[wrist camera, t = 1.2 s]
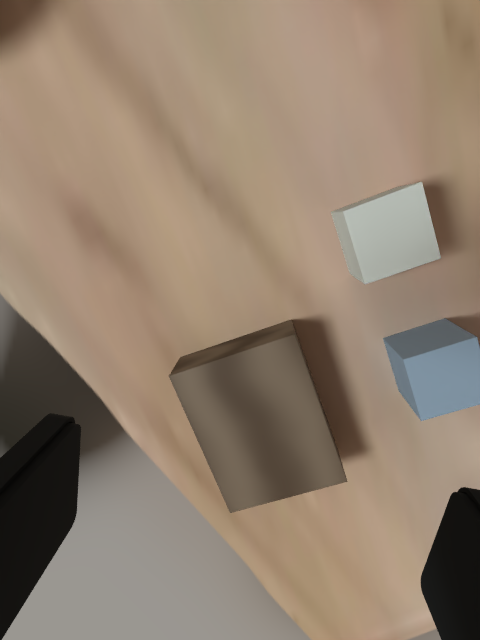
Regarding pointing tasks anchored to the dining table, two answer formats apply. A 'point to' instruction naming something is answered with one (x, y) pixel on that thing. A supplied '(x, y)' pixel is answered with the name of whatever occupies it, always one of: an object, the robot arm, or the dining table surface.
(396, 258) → the cream block
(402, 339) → the slate blue block
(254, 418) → the walnut base block
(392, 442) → the dining table surface
